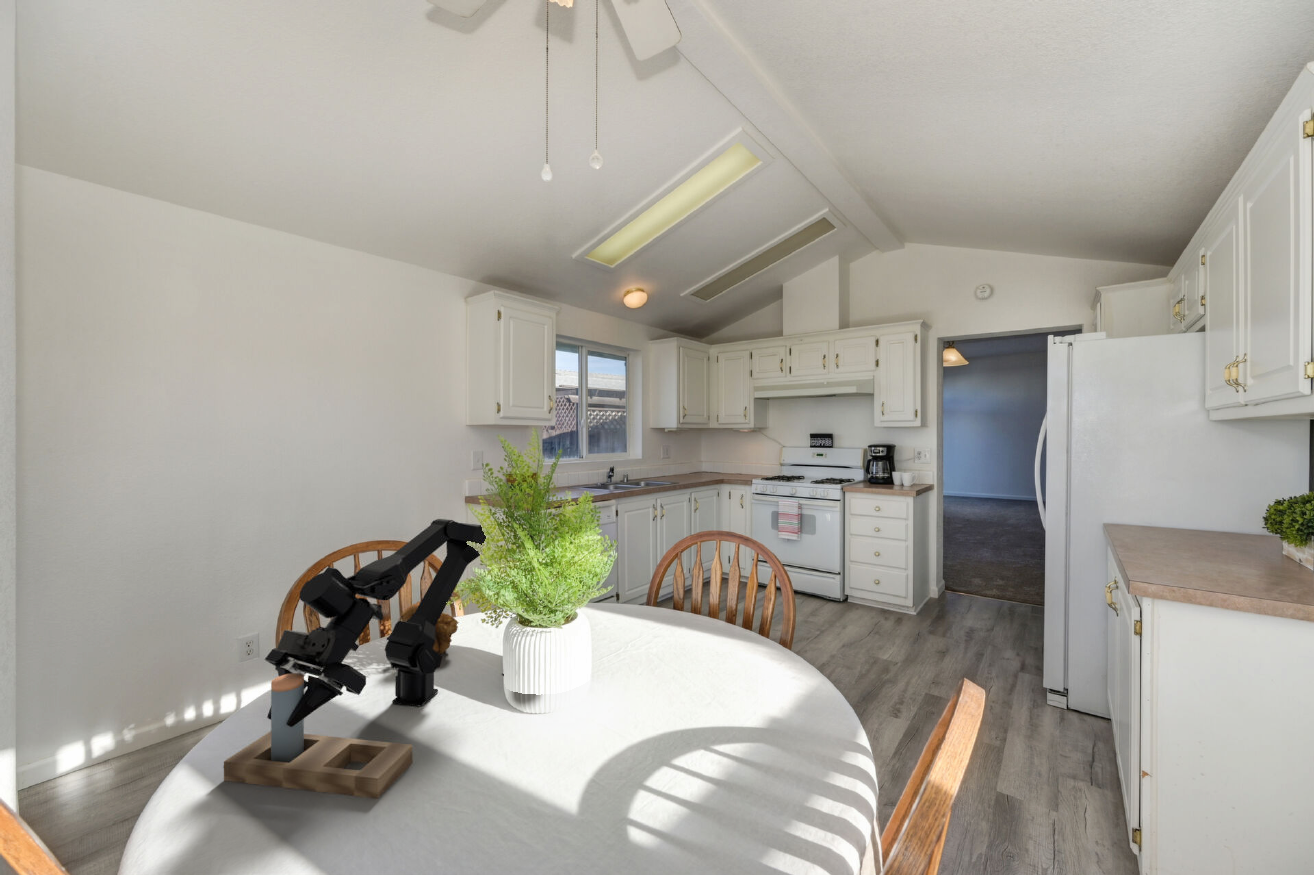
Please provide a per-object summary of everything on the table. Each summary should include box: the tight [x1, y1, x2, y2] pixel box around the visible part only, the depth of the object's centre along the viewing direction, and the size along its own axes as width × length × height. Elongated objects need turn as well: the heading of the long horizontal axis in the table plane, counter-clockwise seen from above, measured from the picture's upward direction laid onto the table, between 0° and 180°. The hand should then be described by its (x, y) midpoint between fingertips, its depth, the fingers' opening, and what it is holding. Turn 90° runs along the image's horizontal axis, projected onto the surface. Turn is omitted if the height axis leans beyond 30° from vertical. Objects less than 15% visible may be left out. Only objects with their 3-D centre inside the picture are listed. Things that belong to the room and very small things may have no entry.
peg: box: [270, 673, 305, 763], centre depth 90 cm, size 4×4×13 cm
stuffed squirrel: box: [398, 600, 460, 655], centre depth 135 cm, size 10×14×13 cm
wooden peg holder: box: [223, 730, 414, 799], centre depth 89 cm, size 26×9×3 cm, turn 82°
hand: (279, 722), depth 89 cm, fingers closed on peg, 4 cm apart
